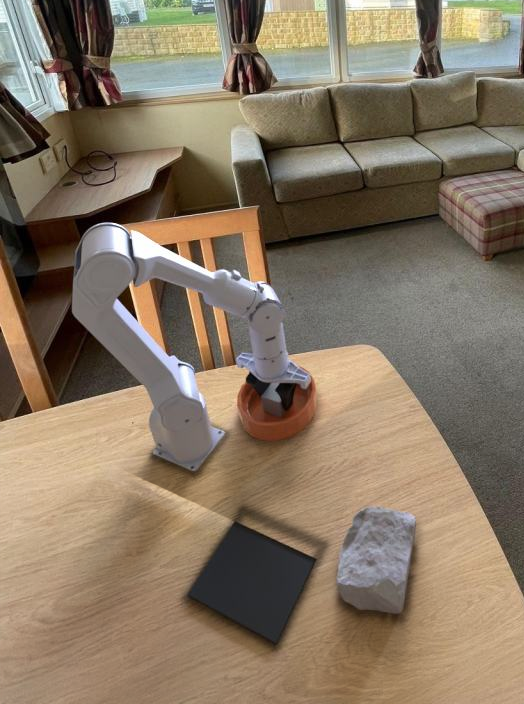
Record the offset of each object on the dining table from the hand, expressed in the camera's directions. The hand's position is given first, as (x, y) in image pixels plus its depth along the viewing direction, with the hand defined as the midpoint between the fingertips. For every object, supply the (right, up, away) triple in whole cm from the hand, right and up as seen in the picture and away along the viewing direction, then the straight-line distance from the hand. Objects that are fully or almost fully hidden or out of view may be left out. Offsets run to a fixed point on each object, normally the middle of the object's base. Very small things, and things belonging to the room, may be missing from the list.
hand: (278, 402), depth 91 cm
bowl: (0, -2, +1) cm, 2 cm away
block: (0, -1, 0) cm, 1 cm away
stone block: (+19, -13, -23) cm, 32 cm away
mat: (+2, -13, -23) cm, 27 cm away
